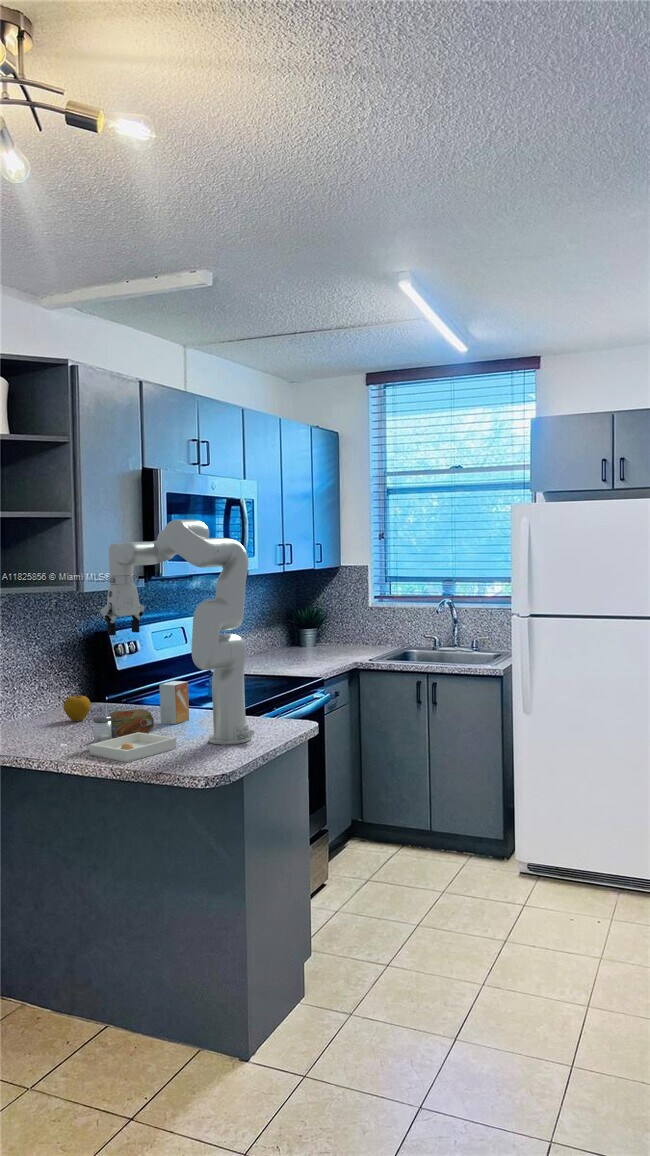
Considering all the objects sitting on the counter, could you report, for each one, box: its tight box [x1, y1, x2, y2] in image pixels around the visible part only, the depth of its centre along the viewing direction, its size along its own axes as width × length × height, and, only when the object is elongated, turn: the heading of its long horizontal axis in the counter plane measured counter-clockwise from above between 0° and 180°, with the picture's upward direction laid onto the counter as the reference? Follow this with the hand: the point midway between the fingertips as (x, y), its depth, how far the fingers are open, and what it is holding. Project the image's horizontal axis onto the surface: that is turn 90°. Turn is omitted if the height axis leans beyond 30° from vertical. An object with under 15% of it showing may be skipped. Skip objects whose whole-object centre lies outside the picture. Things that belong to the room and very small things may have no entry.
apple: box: [63, 694, 92, 722], centre depth 287 cm, size 9×9×9 cm
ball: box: [121, 743, 134, 750], centre depth 232 cm, size 4×4×4 cm
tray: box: [88, 732, 177, 763], centre depth 239 cm, size 16×18×3 cm
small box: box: [159, 680, 190, 725], centre depth 280 cm, size 8×6×13 cm
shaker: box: [92, 714, 113, 744], centre depth 245 cm, size 5×5×9 cm
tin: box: [107, 708, 155, 739], centre depth 260 cm, size 15×3×8 cm, turn 101°
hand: (123, 633), depth 274 cm, fingers open, 9 cm apart
